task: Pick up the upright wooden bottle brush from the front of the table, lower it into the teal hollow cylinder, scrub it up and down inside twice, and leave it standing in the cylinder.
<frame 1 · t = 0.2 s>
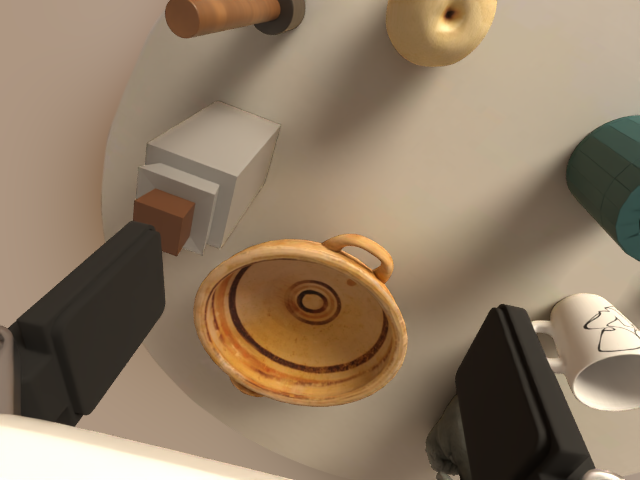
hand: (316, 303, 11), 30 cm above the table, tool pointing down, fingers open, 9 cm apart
apple: (435, 9, 32), on the table
brush: (285, 7, 34), on the table
mug: (563, 312, 46), on the table
stuffed elephant: (485, 413, 58), on the table
teal hollow cylinder: (619, 164, 37), on the table
perfume bottle: (242, 142, 41), on the table
ceramic bowl: (309, 292, 51), on the table
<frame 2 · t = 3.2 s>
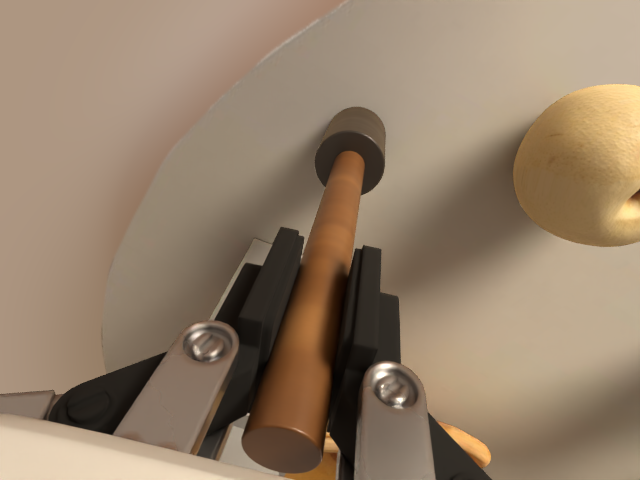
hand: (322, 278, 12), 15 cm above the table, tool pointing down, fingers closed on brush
apple: (573, 146, 23), on the table
brush: (356, 136, 24), on the table, touching gripper
perfume bottle: (285, 284, 32), on the table
ceramic bowl: (358, 436, 41), on the table
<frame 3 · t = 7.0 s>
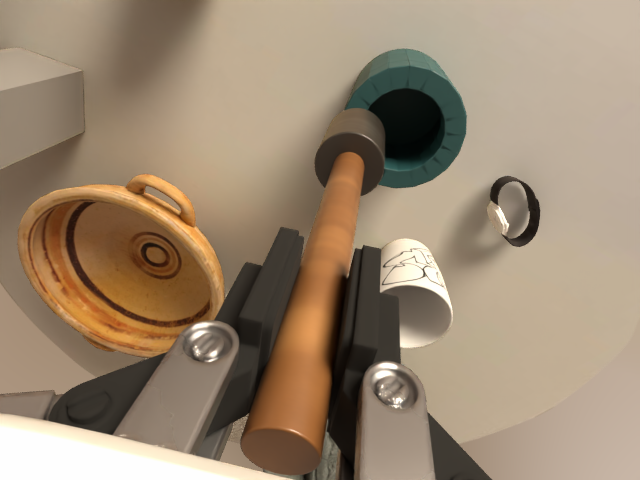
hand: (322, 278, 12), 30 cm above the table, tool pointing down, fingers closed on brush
brush: (355, 137, 24), point 15 cm above the table, touching gripper
mug: (391, 259, 47), on the table
stuffed elephant: (349, 370, 58), on the table
teal hollow cylinder: (399, 101, 37), on the table
perfume bottle: (54, 91, 42), on the table
watch: (509, 204, 41), on the table
ceramic bowl: (155, 247, 51), on the table
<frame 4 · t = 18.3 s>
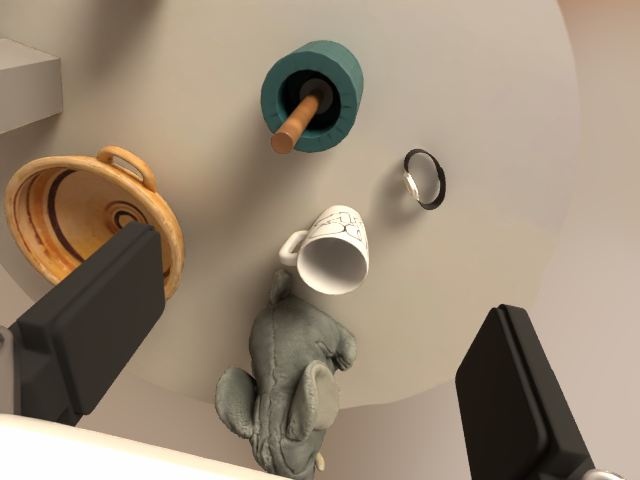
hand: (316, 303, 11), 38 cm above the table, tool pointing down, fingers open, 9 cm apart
brush: (323, 87, 44), point 1 cm above the table, touching teal hollow cylinder
mug: (330, 225, 54), on the table
stuffed elephant: (302, 329, 66), on the table
teal hollow cylinder: (323, 84, 44), on the table
perfume bottle: (36, 76, 49), on the table
watch: (423, 174, 48), on the table
ceramic bowl: (127, 215, 59), on the table
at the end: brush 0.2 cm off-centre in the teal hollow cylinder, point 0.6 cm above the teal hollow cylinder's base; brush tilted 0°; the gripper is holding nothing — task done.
